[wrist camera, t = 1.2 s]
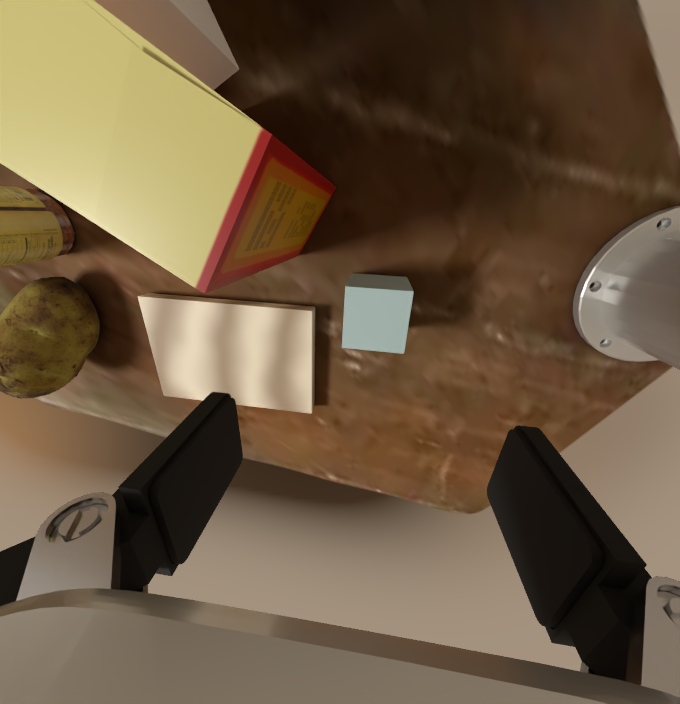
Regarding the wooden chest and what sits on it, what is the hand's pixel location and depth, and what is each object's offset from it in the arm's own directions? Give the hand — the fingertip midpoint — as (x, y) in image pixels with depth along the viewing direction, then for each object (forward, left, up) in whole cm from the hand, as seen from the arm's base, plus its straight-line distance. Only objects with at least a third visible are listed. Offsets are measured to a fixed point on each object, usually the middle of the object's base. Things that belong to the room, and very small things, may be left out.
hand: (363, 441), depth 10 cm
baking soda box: (+10, -9, -19) cm, 24 cm away
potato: (+34, +6, -19) cm, 39 cm away
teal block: (0, 0, -19) cm, 19 cm away
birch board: (+15, +7, -19) cm, 25 cm away
